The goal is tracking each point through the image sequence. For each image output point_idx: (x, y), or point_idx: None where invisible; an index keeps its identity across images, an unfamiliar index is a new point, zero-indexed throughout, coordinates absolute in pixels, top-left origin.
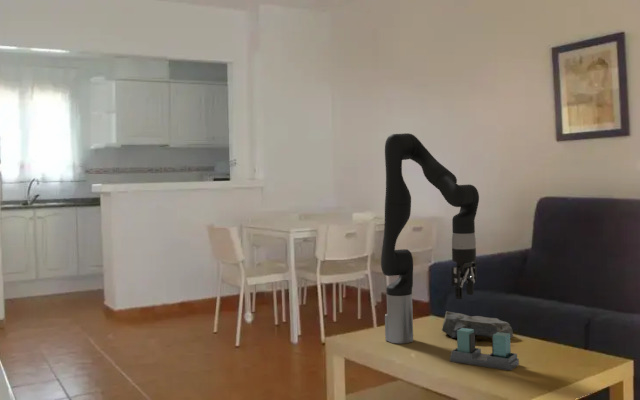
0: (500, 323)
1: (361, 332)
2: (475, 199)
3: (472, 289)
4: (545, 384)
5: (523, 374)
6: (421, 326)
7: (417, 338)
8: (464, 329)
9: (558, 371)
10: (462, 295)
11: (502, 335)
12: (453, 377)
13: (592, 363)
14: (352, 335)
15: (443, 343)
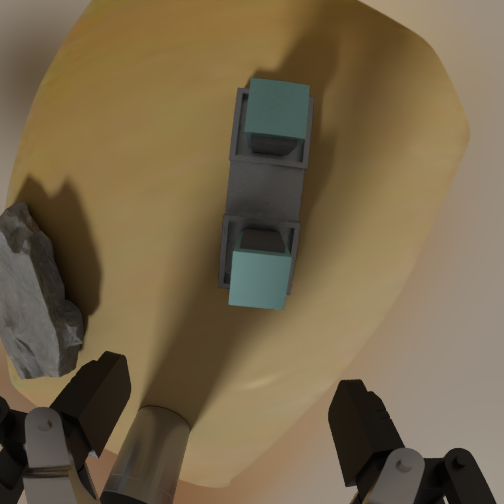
0: (6, 238)
1: None
2: None
3: (104, 382)
4: (373, 28)
5: (325, 69)
6: None
7: None
8: (252, 288)
9: (258, 9)
10: (355, 395)
11: (301, 98)
12: (414, 231)
13: None
14: (181, 474)
15: (125, 348)
